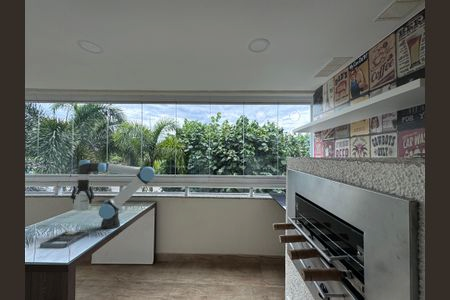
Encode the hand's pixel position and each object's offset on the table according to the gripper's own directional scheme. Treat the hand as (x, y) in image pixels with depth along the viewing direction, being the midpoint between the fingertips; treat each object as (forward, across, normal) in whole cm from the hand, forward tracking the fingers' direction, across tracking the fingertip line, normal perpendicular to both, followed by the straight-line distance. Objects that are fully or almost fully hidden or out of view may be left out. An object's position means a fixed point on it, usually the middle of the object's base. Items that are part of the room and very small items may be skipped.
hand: (82, 207), depth 185 cm
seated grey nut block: (+19, -1, +14) cm, 24 cm away
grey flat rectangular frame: (+19, -1, +20) cm, 28 cm away
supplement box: (+2, 0, 0) cm, 2 cm away
